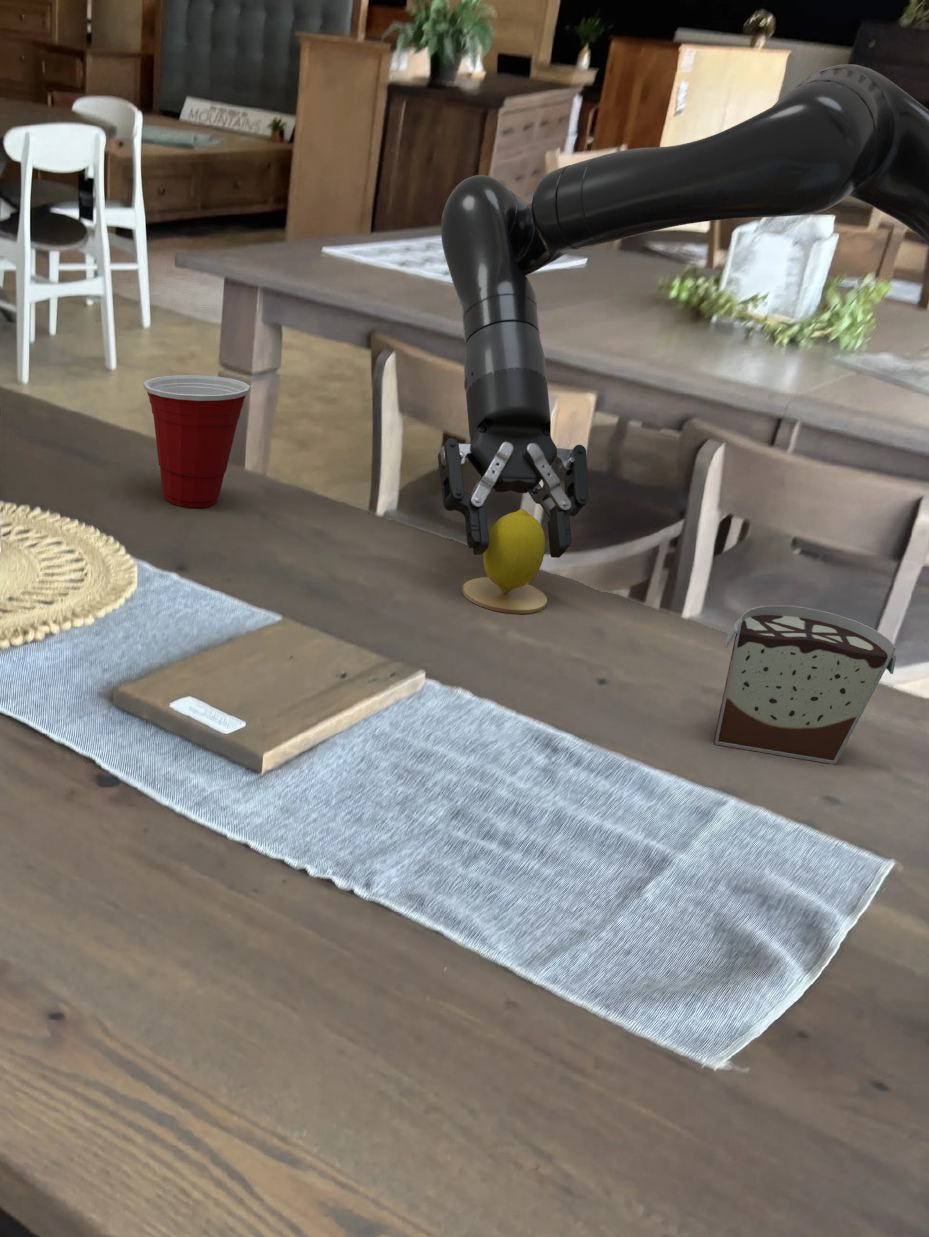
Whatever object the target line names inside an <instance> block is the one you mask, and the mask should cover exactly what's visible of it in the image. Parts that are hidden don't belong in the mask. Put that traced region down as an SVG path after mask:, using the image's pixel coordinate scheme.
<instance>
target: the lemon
mask: <svg viewBox="0 0 929 1237" xmlns="http://www.w3.org/2000/svg"><path fill="white" fill-rule="evenodd" d="M488 538H489V546H488V548H487V550H486V551H485V552H484V553H483V554H482V556H483V557H482V559H483V568H484V571H485V573H486V576H487V577H489V578H490V580H491V581H492V582H493V583H495V584H496V585H498V586H499V588H500V589H501V591H502V592H504V593H509V592H510V591H512V590H513V589H515V588H520V587H522V586H525V585H526V584H528V585H529V583H530V582H531V581H533V580H534V579H535V578H536V576H537V575H538V573H539V571H540V569H541V567H542V564H543V562H544V557H545V550H546V536H545V531H544V529H543V527H542V525H541V523H540V522H539V520H538V519H537V518H535V516H533V515H531V514H529V513H528V510H526V509H524V508H520V509H518V510H517V511H512V512H509V513H507V514H505V515H503V516H501V517H500V518H499V519H498V520H496V522H495V523H494V524H493V526H492V527H491V529H490V531H488Z"/></svg>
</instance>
